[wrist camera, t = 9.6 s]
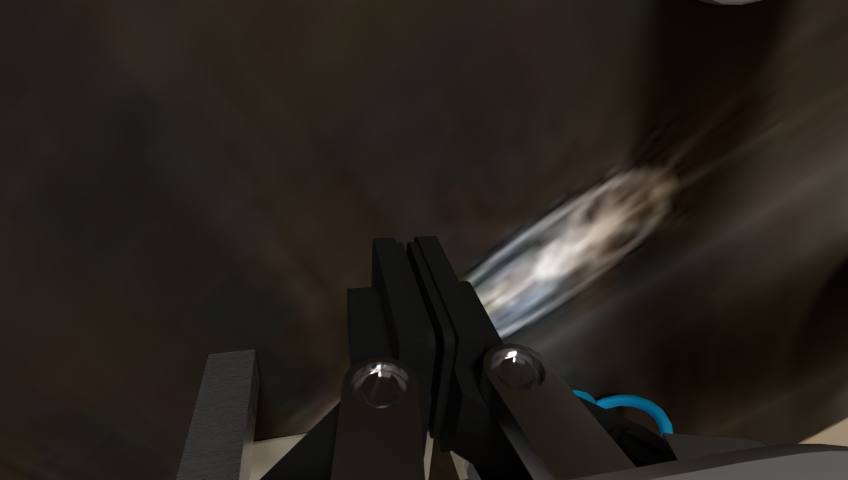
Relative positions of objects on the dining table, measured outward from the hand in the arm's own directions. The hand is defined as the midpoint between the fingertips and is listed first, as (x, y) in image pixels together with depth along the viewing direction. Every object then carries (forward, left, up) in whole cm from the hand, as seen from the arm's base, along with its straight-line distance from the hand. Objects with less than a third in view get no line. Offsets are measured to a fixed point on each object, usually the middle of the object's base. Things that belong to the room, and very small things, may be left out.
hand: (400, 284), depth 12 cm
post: (+14, -7, -12) cm, 20 cm away
